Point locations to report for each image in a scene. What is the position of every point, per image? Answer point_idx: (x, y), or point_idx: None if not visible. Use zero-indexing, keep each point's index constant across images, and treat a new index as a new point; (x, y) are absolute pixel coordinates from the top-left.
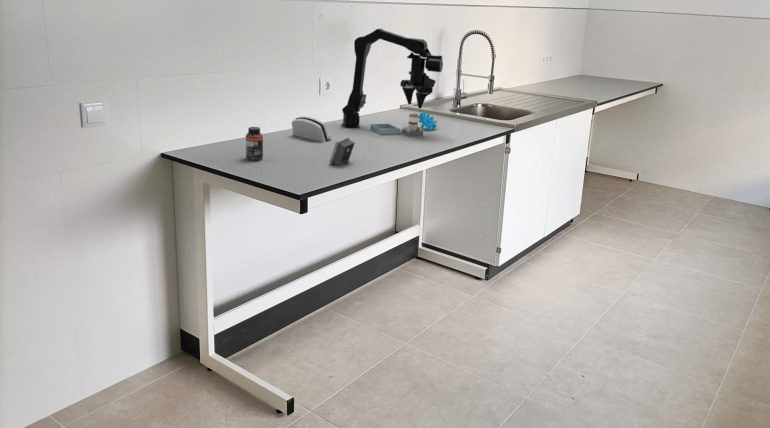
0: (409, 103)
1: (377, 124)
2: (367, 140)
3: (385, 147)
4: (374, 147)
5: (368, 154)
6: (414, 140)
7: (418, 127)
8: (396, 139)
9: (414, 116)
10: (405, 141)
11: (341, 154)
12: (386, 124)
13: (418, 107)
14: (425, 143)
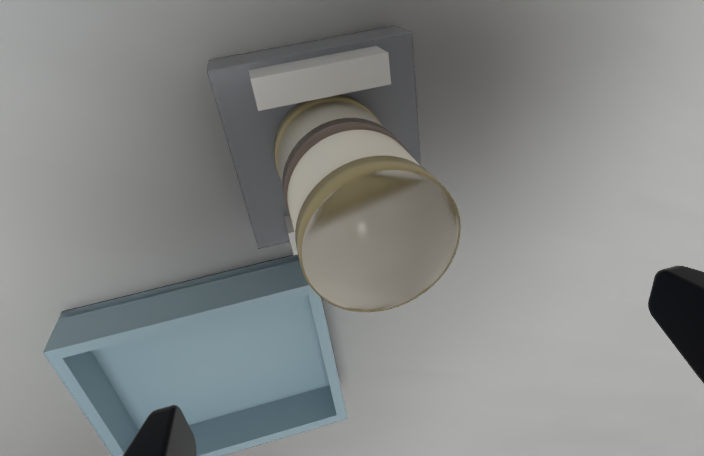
0: (192, 448)
1: (116, 438)
2: (468, 448)
3: (630, 377)
4: (611, 421)
5: (699, 441)
6: (529, 171)
7: (347, 89)
8: (472, 300)
9: (449, 243)
10: (541, 249)
11: None
12: (73, 368)
13: (669, 324)
14: (642, 103)
